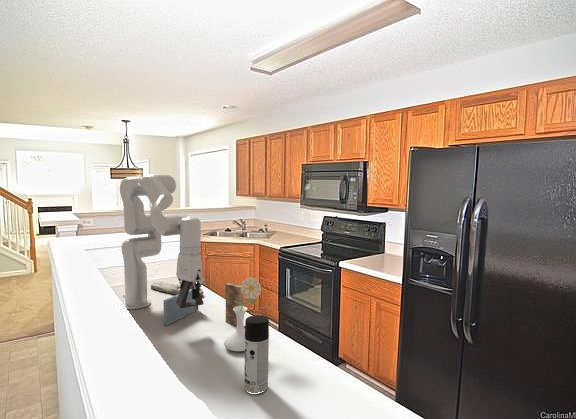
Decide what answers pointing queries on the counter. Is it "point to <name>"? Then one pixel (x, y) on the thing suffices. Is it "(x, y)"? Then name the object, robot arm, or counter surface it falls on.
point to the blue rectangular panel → (176, 309)
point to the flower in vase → (242, 314)
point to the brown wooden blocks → (232, 301)
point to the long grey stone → (168, 288)
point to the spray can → (256, 353)
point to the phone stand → (184, 294)
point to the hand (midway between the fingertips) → (189, 295)
